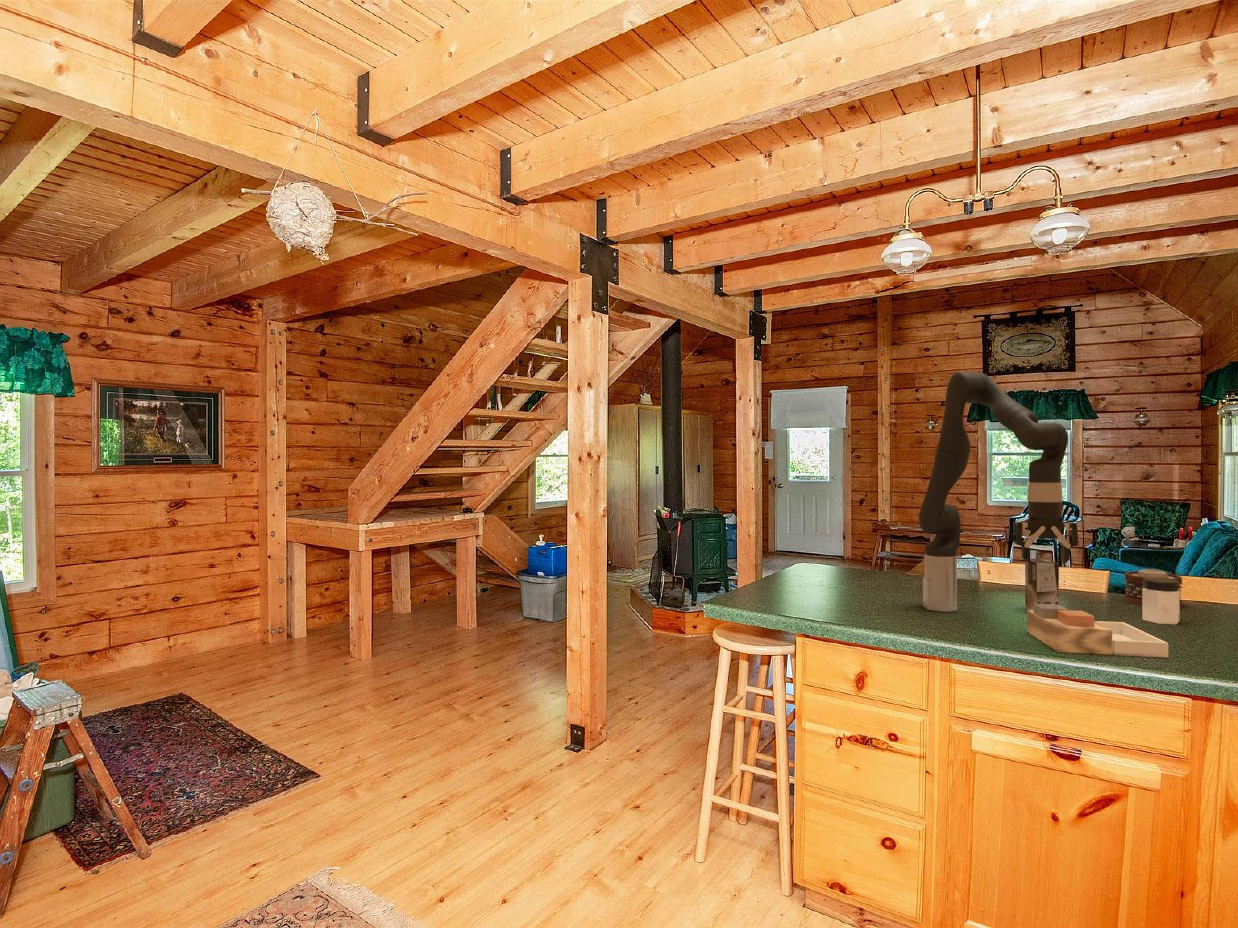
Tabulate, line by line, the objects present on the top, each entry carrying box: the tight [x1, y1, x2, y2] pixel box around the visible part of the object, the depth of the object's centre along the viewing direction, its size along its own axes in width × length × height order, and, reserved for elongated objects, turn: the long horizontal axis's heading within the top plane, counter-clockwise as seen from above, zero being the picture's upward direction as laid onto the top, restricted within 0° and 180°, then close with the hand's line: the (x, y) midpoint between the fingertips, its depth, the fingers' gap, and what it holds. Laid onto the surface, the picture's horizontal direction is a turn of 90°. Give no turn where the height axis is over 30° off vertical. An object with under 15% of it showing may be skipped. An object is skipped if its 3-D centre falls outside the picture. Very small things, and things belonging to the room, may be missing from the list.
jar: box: [1141, 578, 1180, 626], centre depth 194 cm, size 9×8×12 cm
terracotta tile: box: [1057, 609, 1095, 627], centre depth 170 cm, size 6×6×2 cm
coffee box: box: [1024, 558, 1060, 611], centre depth 206 cm, size 9×6×16 cm
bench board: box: [1026, 609, 1113, 655], centre depth 173 cm, size 12×19×6 cm, turn 168°
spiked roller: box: [1124, 568, 1184, 609], centre depth 215 cm, size 15×11×15 cm
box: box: [1095, 620, 1169, 659], centre depth 171 cm, size 11×20×4 cm, turn 168°
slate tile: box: [1034, 604, 1069, 619], centre depth 177 cm, size 6×6×2 cm
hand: (1045, 562), depth 173 cm, fingers open, 8 cm apart
